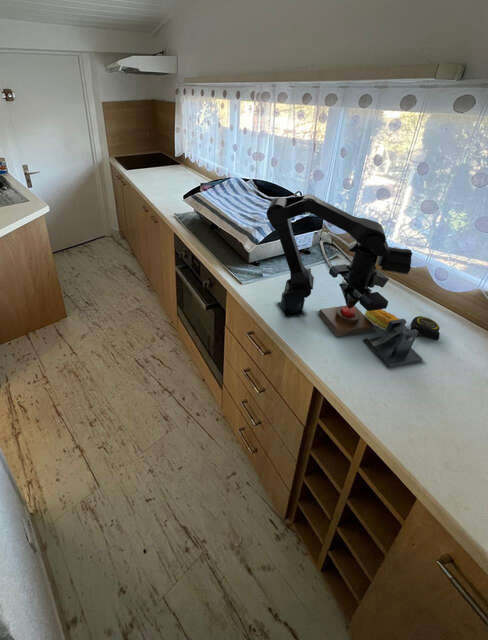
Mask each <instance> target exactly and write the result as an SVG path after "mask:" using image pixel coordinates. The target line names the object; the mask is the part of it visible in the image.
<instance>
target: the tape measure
mask: <svg viewBox="0 0 488 640" xmlns="http://www.w3.org/2000/svg"><path fill="white" fill-rule="evenodd" d="M411 320H412V321H411V323H410V328H409V330H414V329H416V330H417V331H418V334H417V336H418V335H419V336H422V337H424V338H427V339H430V340H432V341H436V342H438V341H439V340H440V335H441V333H440V326H439V324H438V323H437V322H436V321H435V320H433V319H432V318H429V317H426V316H421V315H419V316H415V317H413V319H411Z"/></svg>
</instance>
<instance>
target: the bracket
mask: <svg viewBox="0 0 488 640" xmlns="http://www.w3.org/2000/svg"><path fill="white" fill-rule="evenodd" d="M402 323H403V324H404V325H405V326H406V323H407V320H406V319H405V318H399V320H392V321H390V322H389V324H388V327H387V329H386V331H385V330H384V334H383V336H380V337H374V338H373V337H372V338H367V339H368V340H369V341H370V342H371V343H373V342H375V341H377V340H379V339H381V338H383V337H385V336H387V335H389V334H391V333H393V332H394V328H395V327H396V326H398V325H400V324H402ZM417 337H418V331H417V330H416V329H414V330H410V329H409V330H408V331H401V333H400V335H399V337H396V338H394V339H392V340H390V341H388V342H386V343H384V344H382V345H380V346H378V347H376V348H377V349H378V351H379V352H380V354H379V355H378V357H379V358H380V359H381V361H382V362H383V363H384V364H385V365H386V366H387V367H388V368H394V367H395V368H396V367H400V366H406V365H411V364H417V363H421V362H422V361H423V357H422V356H420V355H419V353H417V352H416V351H415V350H414V349H413V348H412V347H413V345H414V343H415V341H416V338H417Z"/></svg>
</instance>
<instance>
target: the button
mask: <svg viewBox="0 0 488 640" xmlns="http://www.w3.org/2000/svg"><path fill="white" fill-rule="evenodd" d="M342 306H343V308H342V311H341V313H342V314H343V315H344V316H346V317H350V318H352V317H354V314H355V309H354V308H353V307H352V308H350V309H349V308H348V307H347V306H346V305H342Z"/></svg>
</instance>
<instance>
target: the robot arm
mask: <svg viewBox="0 0 488 640" xmlns="http://www.w3.org/2000/svg"><path fill="white" fill-rule="evenodd" d="M307 213H309V214H310V215H313V216H315V217H317V218H319V219H321V220H323V221H325V222H326V223H328V224H331V225H332V226H334V227H336V228H338V229H340V230H342V231H344V232H346V233H347V234H348V235H350V237H351V238H352V239H353V240H354V241H353V242H351V243H348V244H349V247H348V252H351V253H353V256H352V262H351V263H350V264H346V263H345V264H337V265H336V264H334V265H332V267H331V268H330V267H329V271H328V274H329V275H330V276H331V277H332V278H333V279H334V278H338V276H339V275H340V276H341V277H342V278H341V280H342V281H341V282H340V283H339V284H338V286H339V287H340V290H341V292H342V296H343V298H344V302H345V306H346V305H347V307H348V308H349V309H350V308H352V307H353V306H354V305H355V306H356V305H357V304H358V303H359V305H361V306H362V307H363V309H364V310H366V311H367V310H368V311H373V310H380V309H382V310H386V309H387V307H388V305H389V301H388V299H387V298H385V297H384V296H383V295H382V294H381V293H380V292H379V291H374V292H373V290H372V289H373V288H375V286H376V287H380V288H384V287H385V286H386V284H387V283H388V281H390V277H388V276H387V275H386V274H385V273H383V272H381V271H385V272H390V273H395V274H400V275H401V274H402V275H408V274H409V273H410V271H411V269H412V267H411V265H412V256H413V252H412V250H411V249H408V248H398V247H393V246H392V247H391V246H389V245H388V241H387V236H386V234H385V231H384V227H383V225H382V224H381V223H380V222H378V221H375V220H371V219H368V218H365V217H358V216H354V215H352V214H350V213H348V212H346V211H344V210H342V209H341V208H338V207H336V206H334V205H332V204H331V203H328V202H327V201H324V200H322V199H321V198H318V197H317V196H315V195H314V194H312V193H307V194H303V195H292V196H288V197H287V196H286V197H276V198H273V199H272V200H271V202H270V203H269V205H268V208H267V210H266V218H267V220H268V222H269V223H270V226H271V227H272V228H273V229H274V230H275V232H276V233H277V235H278V239H279V241H280V244H281V248H282V251H283V254H284V257H285V260H286V264H287V266H288V269H289V273H290V274H289V275H290V276H289V277H290V278H289V279H286V282H285V287H284V290H283V292H282V293H281V299H280V302H277V306H278V307H279V309H280V310H281V312H282V313H283V314H284V317H293V316H301V315H304V314H305V311H304V306H305V301H306V299H307V298H308V297H310V295H311V294H312V290H314V281H315V277H314V275H313V274H312V268H311V267H308V268H306V266H304V263H303V261H302V257H301V253H300V251H299V246H298V243H297V240H296V237H295V234H294V231H293V227H292V219H294V218H296V217H298V216H301V215H303V214H307ZM376 264H377V266H378V267H380V269H381V271H380V270H379V269H377V266H376Z"/></svg>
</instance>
